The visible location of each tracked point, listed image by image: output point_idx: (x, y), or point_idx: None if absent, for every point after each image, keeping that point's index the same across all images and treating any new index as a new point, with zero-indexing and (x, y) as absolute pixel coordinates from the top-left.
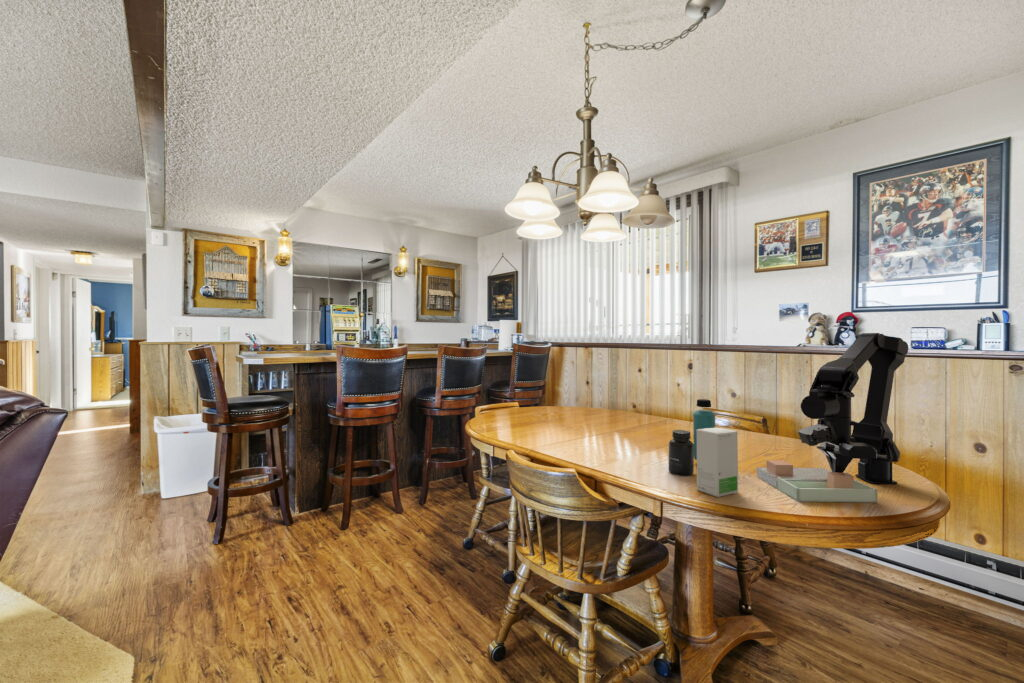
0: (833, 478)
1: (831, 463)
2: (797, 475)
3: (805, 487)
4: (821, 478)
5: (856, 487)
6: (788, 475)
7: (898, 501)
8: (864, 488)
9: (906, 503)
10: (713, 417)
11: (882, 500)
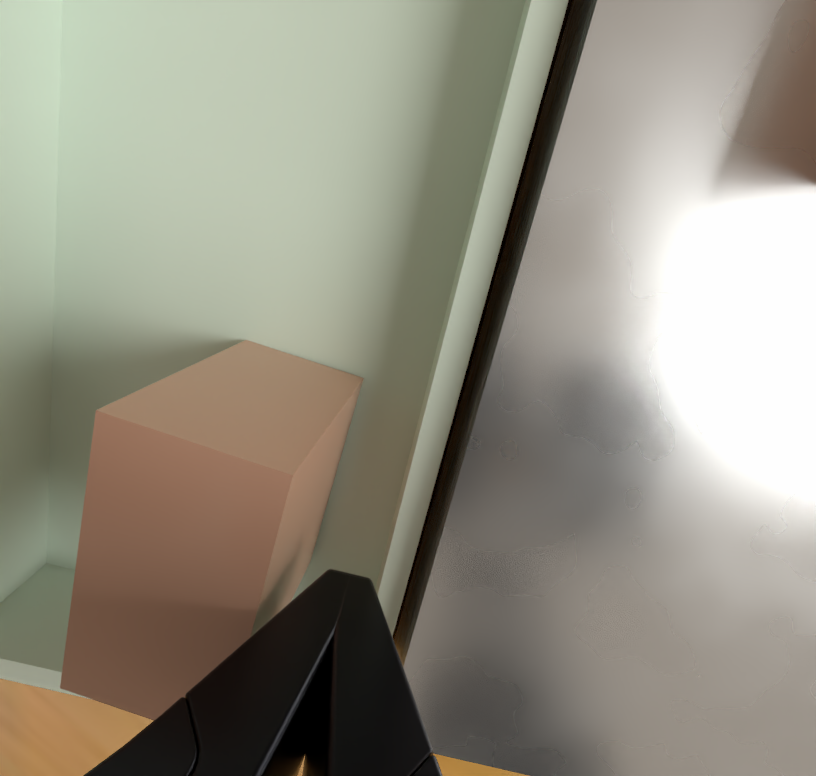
0: (132, 394)
1: (324, 745)
2: (747, 220)
3: (486, 158)
4: (498, 467)
5: None
6: (814, 29)
7: (71, 736)
8: None
9: (28, 747)
10: None
11: None
